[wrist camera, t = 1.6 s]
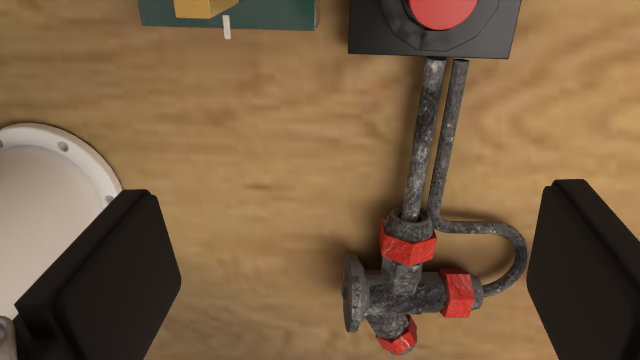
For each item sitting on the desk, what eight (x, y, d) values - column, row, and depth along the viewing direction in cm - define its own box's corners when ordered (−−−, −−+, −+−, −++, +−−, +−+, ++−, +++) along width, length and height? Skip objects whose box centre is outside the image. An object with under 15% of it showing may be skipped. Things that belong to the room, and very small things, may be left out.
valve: (483, 321, 44) (333, 321, 42) (564, 55, 32) (359, 45, 31) (512, 376, 38) (339, 378, 37) (623, 77, 26) (374, 66, 25)
